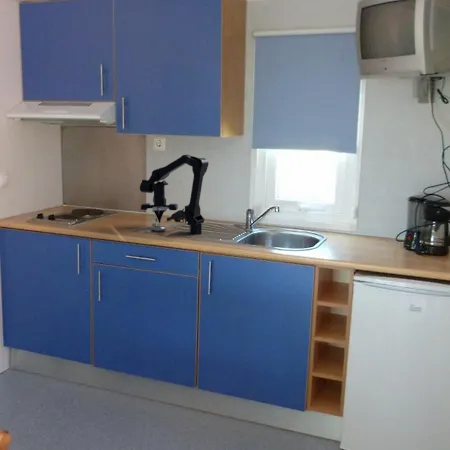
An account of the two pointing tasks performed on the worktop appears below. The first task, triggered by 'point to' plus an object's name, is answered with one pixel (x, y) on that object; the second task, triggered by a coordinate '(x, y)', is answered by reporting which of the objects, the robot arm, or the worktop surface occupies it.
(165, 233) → the board
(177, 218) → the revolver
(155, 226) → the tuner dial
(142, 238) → the worktop surface
